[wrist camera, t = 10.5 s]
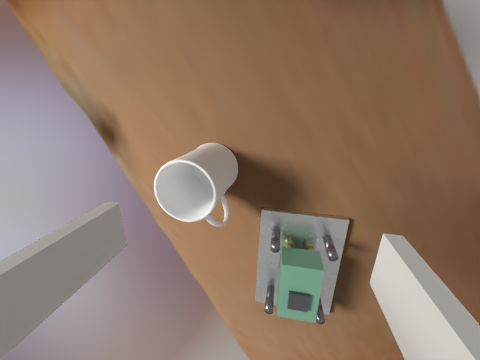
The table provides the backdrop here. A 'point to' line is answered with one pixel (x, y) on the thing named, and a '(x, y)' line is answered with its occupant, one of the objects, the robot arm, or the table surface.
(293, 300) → the board
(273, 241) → the chassis
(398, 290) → the robot arm
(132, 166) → the table surface
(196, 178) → the mug
